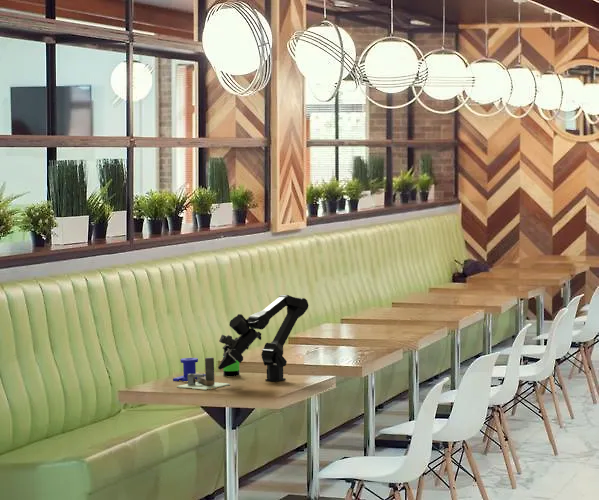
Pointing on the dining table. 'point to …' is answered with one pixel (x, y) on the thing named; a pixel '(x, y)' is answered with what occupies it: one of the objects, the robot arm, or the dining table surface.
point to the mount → (187, 368)
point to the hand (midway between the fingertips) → (218, 368)
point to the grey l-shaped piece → (208, 372)
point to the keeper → (193, 378)
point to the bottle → (231, 369)
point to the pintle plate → (203, 385)
